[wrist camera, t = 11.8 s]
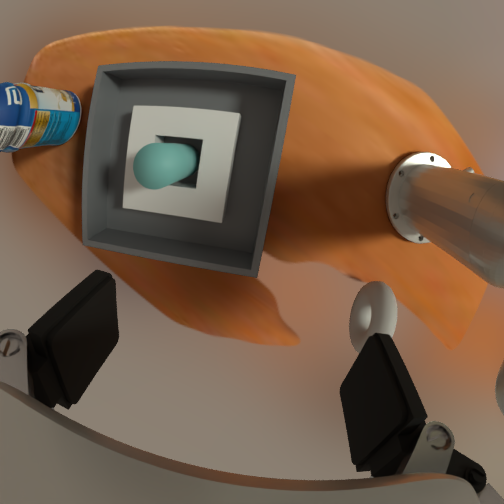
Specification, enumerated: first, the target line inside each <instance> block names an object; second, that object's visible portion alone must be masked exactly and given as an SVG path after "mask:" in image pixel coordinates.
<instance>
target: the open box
mask: <svg viewBox="0 0 504 504" xmlns="http://www.w3.org/2000/svg"><path fill="white" fill-rule="evenodd" d="M295 78H296V75H293V74H289V73H283V72H278V71H273V70H267V69H260V68H254V67H246V66H238V65H229V64H218V63H204V62H179V61H158V62H133V63H120V64H109V65H100V66H98V70H97V74H96V79H95V84H94V88H93V94H92V99H91V105H90V111H89V117H88V124H87V132H86V141H85V151H84V164H83V181H82V237H83V245H85V246H90V247H95V248H100V249H104V250H109V251H114V252H119V253H124V254H129V255H134V256H139V257H144V258H150V259H155V260H160V261H165V262H171V263H176V264H181V265H187V266H192V267H198V268H203V269H209V270H215V271H220V272H226V273H232V274H238V275H244V276H249V277H255V278H257V276H258V271H259V266H260V261H261V256H262V251H263V246H264V241H265V236H266V231H267V226H268V221H269V216H270V211H271V205H272V200H273V195H274V190H275V185H276V180H277V174H278V169H279V164H280V159H281V153H282V148H283V143H284V137H285V132H286V127H287V121H288V116H289V111H290V105H291V100H292V94H293V89H294V83H295ZM150 143H178V144H189V145H192V146H194V147H195V148H196V149H197V150H198V152H199V154H200V163H199V168H198V170H197V171H196V172H195V173H194V174H193V175H191V176H189V177H186V178H184V179H182V180H179V181H177V182H175V183H172V184H170V185H168V186H166V187H163V188H161V189H156V190H152V189H148V188H145V187H143V186H142V185H141V184H140V183H139V182H138V181H137V179H136V178H135V175H134V171H133V162H134V158H135V156H136V154H137V153H138V151H139V150H140V149H141V148H142V147H144V146H145V145H147V144H150Z"/></svg>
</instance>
